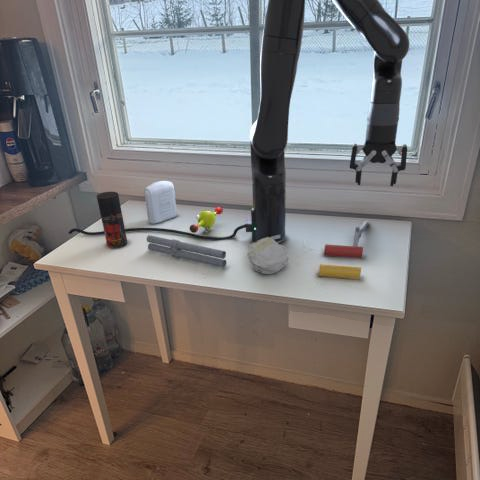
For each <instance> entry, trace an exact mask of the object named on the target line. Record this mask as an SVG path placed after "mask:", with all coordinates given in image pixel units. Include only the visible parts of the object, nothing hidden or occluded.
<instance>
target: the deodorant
mask: <svg viewBox="0 0 480 480" xmlns="http://www.w3.org/2000/svg"><path fill="white" fill-rule="evenodd" d="M96 200H97V204H98V210H99V214H100V218H101V223H102V227H103V228H102V229H103V231H104V233H105V234H104V236H105V241H106V246H107V248H109V249H121V248H124V247H126V246H127V245H128V238H127V231H126V232H125V229H126V226H125V223H124V222H125V221H124V216H123V211H122V206H121V202H120V196H119V193H118V191H117V192H116V191H104V192H101V193H98V194H97V195H96Z"/></svg>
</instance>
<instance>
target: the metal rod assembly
mask: <svg viewBox="0 0 480 480" xmlns="http://www.w3.org/2000/svg"><path fill="white" fill-rule="evenodd" d="M146 242H147V243H148V244H147V250H149V251H152V252H157V253H160V254H165V255H169V256H171V257H174V258H178V259H179V258H181V259H186V260H190V261H194V262H198V263H202V264H206V265H211V266H216V267H220V268H226V266H227V260H226V259H225V258H226V257H227V251H225V250H220V249H217V248H211V247H207V246H202V245H199V244H193V243H190V242H184V241H181V240H179V239H174V238H171V239H169V238H166V237H165V238H164V237H159V236H156V235H151V234H148V235H147V236H146Z"/></svg>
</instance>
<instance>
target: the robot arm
mask: <svg viewBox="0 0 480 480" xmlns="http://www.w3.org/2000/svg"><path fill="white" fill-rule="evenodd" d="M331 1H332V3H333V4H334V5H335V7H336V8H337V10H339V12H340V13H341V14H342V16H343V17H344V18H345V19H346V21H347V22H348V23H349V24H350V25H351V26H352V28H353V29H354V30H355V31H356V32H357V33H358V34H359V35H361V36H362V37H363V39H365V40H366V42H367V43H368V45H369V46H370V48H371V49H372V50H373V80H372V85H371V92H370V93H371V94H370V102H369V106H368V111H367V118H366V130H365V141H364V143H363V145H362V144H357V143H353V145H352V147H351V154H350V160H349V169H351V170H353V171H355V184H357V186H361V181H362V172H363V170H362V169H364V167H365V166H367V164H368V163H369V162H370V163H372V164H377V163H379V164H385V163H387V164H388V166H389V167H390V169H391V176H390V182H389V186H390V187H394V185H396V184H397V179H398V173H399V172H401V171H405V170H406V169H407V156H408V145H407V144H405V143H404V144H402V145H397V144H396V140H397V133H398V125H399V120H400V111H401V109H400V104H401V96H402V90H403V89H402V87H403V78H402V66H403V60H404V59H405V57H406V56H407V54H408V53H409V49H410V38H409V36H408V34H407V33H406V31H405V30H404V29H403V27H402V26H401V25H400V24H399V23H398V22H397V20H395V19H394V18H393V17H392V16H391V15H390V14H389V13H388V12H387V10H386V9H385V8H384V7H383V5H382V3H381V2H380V0H331ZM305 12H306V0H268V3H267V8H266V13H265V19H264V25H263V31H262V39H261V48H260V49H261V50H260V63H259V64H260V66H259V71H260V72H259V73H260V74H259V75H260V77H259V78H260V102H259V108H258V113H257V119H256V121H255V122H254V123H253V124H252V126H251V129H250V132H249V133H250V135H249V143H250V144H249V146H250V169H251V170H250V171H251V183H252V184H251V185H252V187H251V188H252V208H251V210H250V215H251V216H250V217H251V218H247V220H246V222H245V223H244V224H241V225H239V226H237V227H236V228H235V229H234V230H233V233H232V234H231V235H228V236H211V235H209V236H208V235H201V234H196V233H192V232H188V231H182V230H178V229H171V228H161V227H129V228H125V232H126V233H127V232H142V231H143V232H145V231H147V232H149V231H150V232H152V231H153V232H164V233H165V232H166V233H173V234H178V235H183V236H188V237H193V238H196V239H202V240H211V241H212V240H213V241H222V240H223V241H225V240H231V239H233V238H234V237H236V236H237V233H238V231H240V230H242V229H245V233H251V242H252V243H256V242H257V241H259V240H261V239H263V238H266V237H269V238H272V239H274V240H275V241H276V242H277V243H278V244H279V245H280V244H281V243H283V242H285V240H286V203H287V202H286V200H287V199H286V197H287V194H286V193H287V190H286V189H287V188H286V187H287V170H286V160H285V159H286V158H285V150H286V147H287V145H288V140H289V121H290V120H289V118H290V107H291V99H292V95H293V90H294V86H295V82H296V77H297V72H298V65H299V61H300V56H301V50H302V42H303V36H304V28H305V27H304V26H305ZM361 151H362V152H363V153H364V156H363V158H362V159H361V160H360V162H358V163H356V160H357V159H356V158H357V155H359V154H360V152H361ZM396 152H398V155H399V156H400V163H399V164H397V163H396V161H395V159H394V158H393V156H394V154H395V153H396ZM74 232H77V233H80V234H83V235H86V236H101V235H105V233H104V230H103V231H86V230H83V229H80V228H72V229H70V230H69V231H68V235H71V234H73V233H74ZM81 309H82V312H83V315H84V320H85V324H86V327H90V325H91V324H90V321H89V318H88V314H87V311H86V308H84V307H83V306H82V307H81Z"/></svg>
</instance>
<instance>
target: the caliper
mask: <svg viewBox="0 0 480 480" xmlns="http://www.w3.org/2000/svg"><path fill="white" fill-rule="evenodd" d="M368 224H369V221H368V220H363V222H362V223H361V225H360V226H356V227H355V230H354V236H353V245H352V246H357V247H359V243H360V239H361V238H362V235H363V233H364V231H365V230H366V229H367V227H368Z"/></svg>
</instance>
